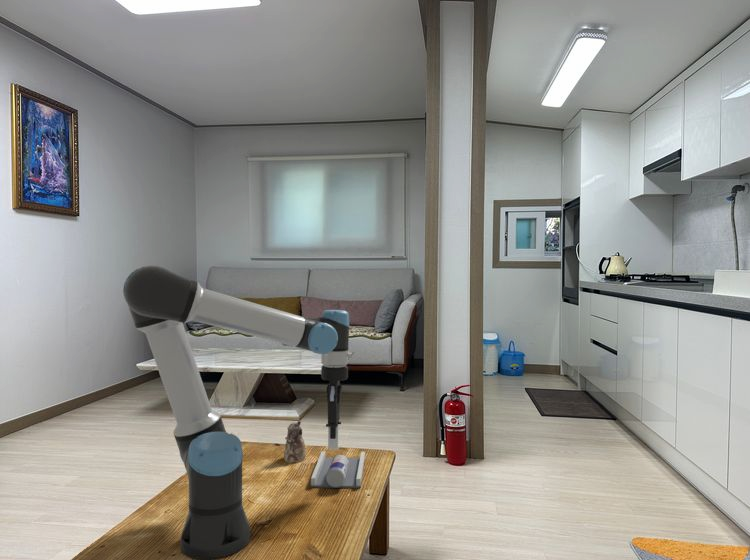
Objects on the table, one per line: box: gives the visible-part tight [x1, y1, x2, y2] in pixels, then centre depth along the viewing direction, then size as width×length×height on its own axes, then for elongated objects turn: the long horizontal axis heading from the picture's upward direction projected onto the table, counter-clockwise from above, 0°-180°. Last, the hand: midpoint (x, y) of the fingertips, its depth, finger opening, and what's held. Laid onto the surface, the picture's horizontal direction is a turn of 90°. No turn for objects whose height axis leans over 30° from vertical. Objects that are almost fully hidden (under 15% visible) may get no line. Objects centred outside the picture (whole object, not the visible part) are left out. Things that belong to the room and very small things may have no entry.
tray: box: [310, 450, 366, 489], centre depth 156 cm, size 22×14×3 cm, turn 178°
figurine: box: [283, 420, 307, 463], centre depth 168 cm, size 7×7×12 cm
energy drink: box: [326, 454, 349, 487], centre depth 150 cm, size 5×5×12 cm
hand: (333, 448), depth 143 cm, fingers closed
